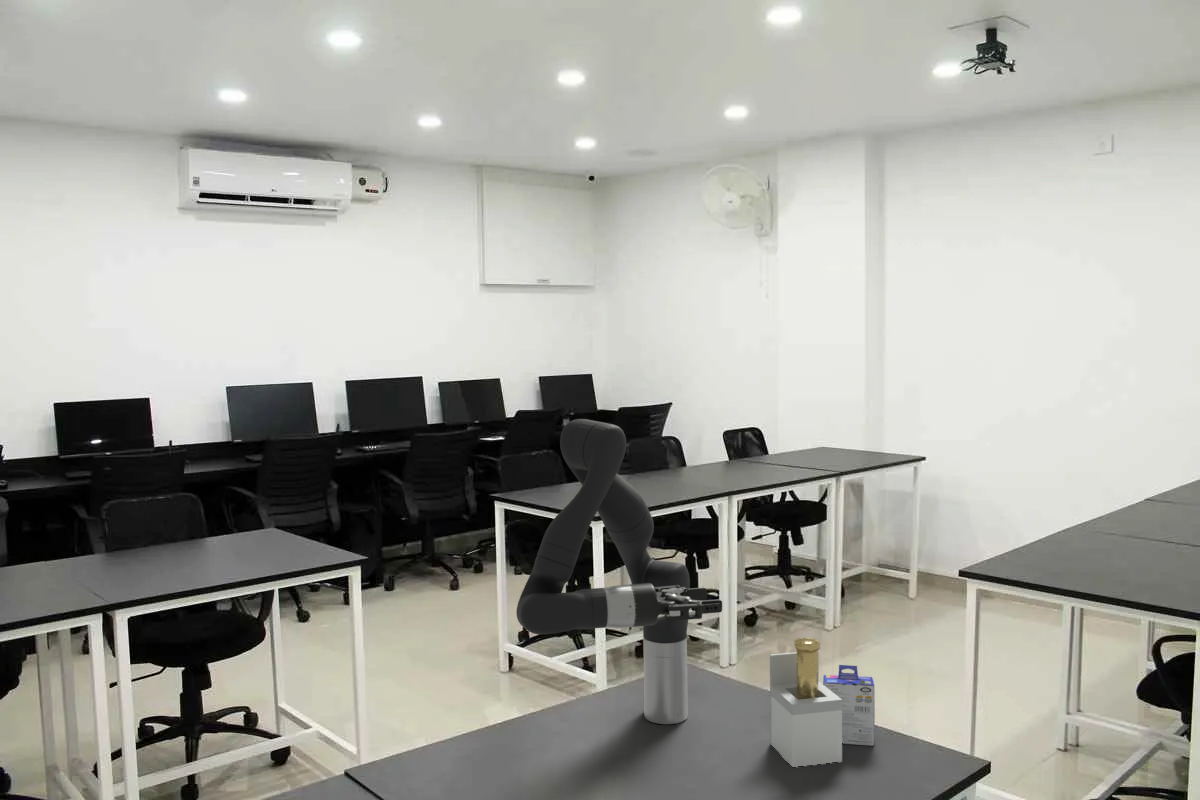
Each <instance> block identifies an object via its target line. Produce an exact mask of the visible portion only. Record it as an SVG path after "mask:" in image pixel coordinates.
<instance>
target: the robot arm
mask: <svg viewBox="0 0 1200 800" xmlns="http://www.w3.org/2000/svg"><path fill="white" fill-rule="evenodd" d="M559 443H560V444H559V445H560V447H559V448H560V451H561V454H562V458H563V459H564V462H565V463H566V465H567V467H568V468H569V469H570V471H571V472H572V473H573V475H574V476H575V477H576V479H577V480H578V482H579V483H580V484H581V487H580V489H579V490H578V492H577V493H576V494H575V496H574V497H573V498H572V499H571V500H570V501H569V503H568V504H567V505H566V506H565V507H564V508H562V509H561V511H560V512H559V513H558V514H557V515H556V516H555V517H554V518H553V520H552V521H551V522H550V524H548V527H547V529H546V530H545V532H544V535H543V537H542V539H541V543H540V545H539V549H538V551H537V555H536V558H535V561H534V564H533V568H532V570H531V572H530V575H529V576H528V579H527V581H526V583H525V585H524V588H523V590H522V592H521V593H520V597H519V600H518V601H517V602H518V603H517V605H516V612H515V613H516V618H517V621H518V623H519V624H520V626H521V627H522V628H524V629H525V630H526V631H527V632H529V633H531V634H535V635H549V634H550V635H551V634H557V633H558V634H559V633H564V632H569V631H575V630H592V629H607V628H608V629H626V628H636V627H637V628H638V627H643V628H642V635H643V636H642V639H643V641H642V643H643V644H642V645H643V646H642V647H643V648H642V649H643V709H644V710H643V711H644V713H643V715H644V718H645V720H646V721H649V722H651V723H653V724H659V725H660V724H661V725H674V724H679V723H682V722H684V721H686V720H687V719H688V717H689V716H688V715H689V714H688V644H687V643H688V640H687V639H688V638H687V637H688V632H687V631H688V627H689V626H688V624H689V620H701V619H703V615H704V614H705V615H706V614H715V613H716V614H719V613H722V611H723V601H722V600H721V599H718V598H717V599H707V598H708V590H707V588H705V587H694V588H693V587H692V588H691V587H690V586H691V584H690V583H691V579H690V573H689V571H688V568H687V566H686V565H685V564H684V563H680V562H673V561H666V560H665V561H664V560H658V559H657V560H656V559H654V558H652V557H651V555H650V554H649V552H648V550H647V548H648V546H649V544H650V542H651V540H652V537H653V534H654V529H655V523H654V519H653V515H652V514H651V512H650V510H649V508H648V506H647V504H646V501H645V500H644V498H643V497H642V495H641V494H640V493H639V492H638V491H637V490H636V489H635V488H634V486H632V485H631V484H630V483H629V482H627V481H626V480H625V479H624V478H623V477H622V476H621V475H620V474H619V473H618V472H619V470H620V467H621V465H622V463H623V461H624V458H625V454H626V451H627V437H626V434H625V433H624V430H623V429H622V428H621V427H620V426H618V425H616V424H612V423H607V422H603V421H597V420H593V419H592V420H591V419H587V418H576V419H573V420H571V421H569V422H567V423H566V425H565V426H564V427H562V431H561V434H560V438H559ZM597 513H598V515H599V517H600V519H601V521H602V523H603V526H604V528H605V529H606V532H607V533H608V535H609V537H610V538H611V540H612V542H613V543H614V545H615V547H616V549H617V551H618V554H619V555H620V557H621V559H622V562H623V563H624V566H625V568H626V571H627V574H628V577H629V579H630V583H631V584H620V585H619V584H617V585H611V586H607V587H596V588H583V589H579V590H575V591H572V592H563V589H564V586H565V585H566V584H567V583H568V582H569V580H570V579H571V577H572V575H573V572H574V568H575V566H576V564H577V561H578V558H579V554H580V551H581V549H582V545H583V542H584V541H585V537H586V535H587V533H588V530H589V529H590V526H591V524H592V523H593V520H594V518H595V516H596V514H597ZM692 609H694V610H692ZM660 615H661V616H660Z"/></svg>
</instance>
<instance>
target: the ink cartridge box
mask: <svg viewBox="0 0 1200 800" xmlns="http://www.w3.org/2000/svg"><path fill="white" fill-rule="evenodd" d="M843 670H851V671H854V673H853V672H843ZM858 673H859V672H858V665H848V664H838V675H832V674H830V675H829V674H823V679H822V680H823V681H822V682H823V683H822V684H823V685H824V686H825V687H827V688H828V689H829V690H830V691H832V692H833V693H834V694H836V695H837V696H838V697H839V698H841V699H842V743H843V744H845V745H857V746H869V747H870V746H875V716H876V715H875V714H876V713H875V710H876V709H875V703H876V699H875V682H874V678H873V677H872V676H863V675H862V676H860V675H859V674H858ZM843 744H842V745H843Z"/></svg>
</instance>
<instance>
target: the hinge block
mask: <svg viewBox="0 0 1200 800" xmlns="http://www.w3.org/2000/svg"><path fill="white" fill-rule="evenodd" d="M769 731H770V732H769V742H770V743H769V744H771V745H772V746H773V747H774V748H775V749H776V750H777V751H778V752H779V753H780V754H781V755H782V756H781V755H780V754H779V753H778V752H777V751H776V750H775V749H774V748H773V747H772V746H771V745H770V746H771V747H772V748H773V749H774V750H775V751H776V752H777V753H778V754H779V755H780V756H781V757H782V758H783V760H785V762H786V761H787V762H788V763H789V764H790V765H791V766H792V767H796V768H799V767H798V766H804V767H808V766H807V765H813V766H818V765H817V764H821V765H827V764H826V763H830V764H833V763H832V762H838V763H843V744H842V699H841V698H839V697H838V696H837V695H836V694H834V693H833V692H832V691H830V690H829V689H828V688H827V687H825V686H824V685H823V683H822V682H821V681H819V677H818V698H810V699H800V700H798V699H797V652H796V651H794V652H786V653H785V652H784V653H783V652H782V653H773V654H769ZM787 762H786V763H787ZM788 763H787V764H788ZM789 764H788V765H789ZM790 765H789V766H790ZM791 766H790V767H791ZM792 767H791V768H792Z"/></svg>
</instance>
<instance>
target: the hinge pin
mask: <svg viewBox="0 0 1200 800" xmlns="http://www.w3.org/2000/svg"><path fill="white" fill-rule="evenodd" d="M793 643H794V645H793V647H794V648H795V649H796V651H795V652H797V699H798V700H800V699H810V698H818V678H819V650H820V649H821V641H820V640H818V639H816V638H814V637H813V638H812V637H798V638H796V639H795V640H794V642H793Z"/></svg>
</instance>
